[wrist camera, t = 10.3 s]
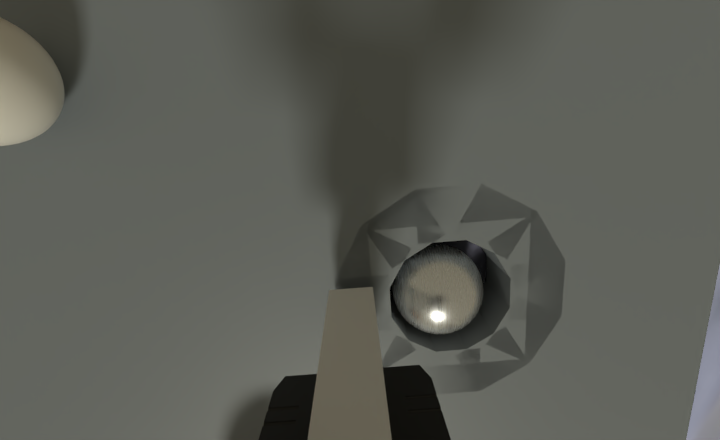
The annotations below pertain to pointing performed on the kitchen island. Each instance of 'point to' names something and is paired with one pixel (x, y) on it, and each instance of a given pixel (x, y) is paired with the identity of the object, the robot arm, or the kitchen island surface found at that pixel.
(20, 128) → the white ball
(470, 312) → the steel ball
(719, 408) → the kitchen island surface
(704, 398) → the kitchen island surface
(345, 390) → the robot arm
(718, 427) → the kitchen island surface
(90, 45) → the plate
